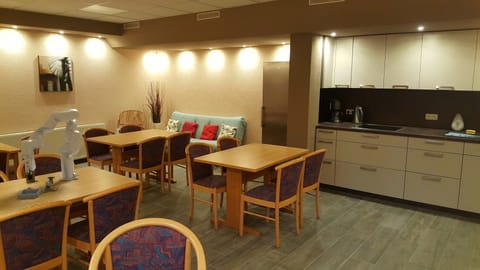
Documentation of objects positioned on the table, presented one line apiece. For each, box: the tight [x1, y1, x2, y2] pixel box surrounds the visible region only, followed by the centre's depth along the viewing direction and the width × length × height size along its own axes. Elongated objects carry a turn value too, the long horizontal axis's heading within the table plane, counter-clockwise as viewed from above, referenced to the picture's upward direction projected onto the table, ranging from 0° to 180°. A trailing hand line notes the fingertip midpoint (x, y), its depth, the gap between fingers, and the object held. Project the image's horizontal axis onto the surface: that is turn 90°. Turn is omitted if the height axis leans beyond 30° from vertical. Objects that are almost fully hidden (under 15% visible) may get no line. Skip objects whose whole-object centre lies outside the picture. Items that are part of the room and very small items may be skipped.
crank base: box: [27, 186, 59, 193], centre depth 268 cm, size 20×6×3 cm, turn 106°
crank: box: [45, 176, 56, 188], centre depth 274 cm, size 13×5×6 cm, turn 16°
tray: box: [17, 188, 43, 200], centre depth 257 cm, size 13×12×3 cm
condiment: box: [24, 169, 40, 185], centre depth 273 cm, size 7×8×12 cm
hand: (31, 178), depth 273 cm, fingers closed on condiment, 6 cm apart
